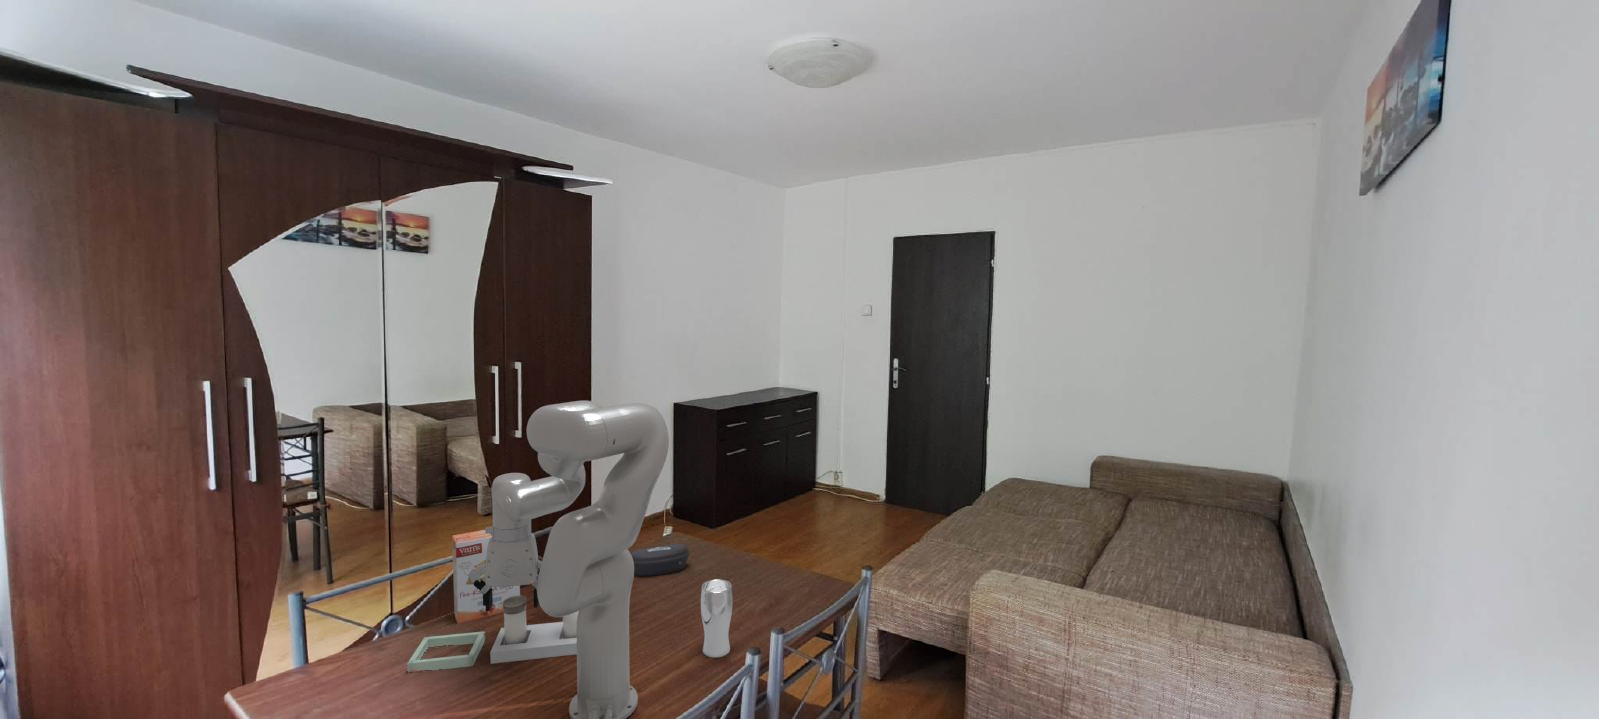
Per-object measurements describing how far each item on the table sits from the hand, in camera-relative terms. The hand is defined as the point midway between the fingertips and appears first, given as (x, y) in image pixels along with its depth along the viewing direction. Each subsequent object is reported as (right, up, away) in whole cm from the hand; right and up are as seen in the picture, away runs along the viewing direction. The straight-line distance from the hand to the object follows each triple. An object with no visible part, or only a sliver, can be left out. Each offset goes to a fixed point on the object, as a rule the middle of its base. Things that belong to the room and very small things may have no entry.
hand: (513, 606), depth 136 cm
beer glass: (+44, -11, +3) cm, 46 cm away
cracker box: (-14, -9, +17) cm, 23 cm away
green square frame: (-13, -11, -3) cm, 17 cm away
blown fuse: (0, -9, +1) cm, 9 cm away
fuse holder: (+6, -10, +2) cm, 12 cm away
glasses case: (+22, -7, +44) cm, 49 cm away
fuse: (+12, -9, +3) cm, 16 cm away
